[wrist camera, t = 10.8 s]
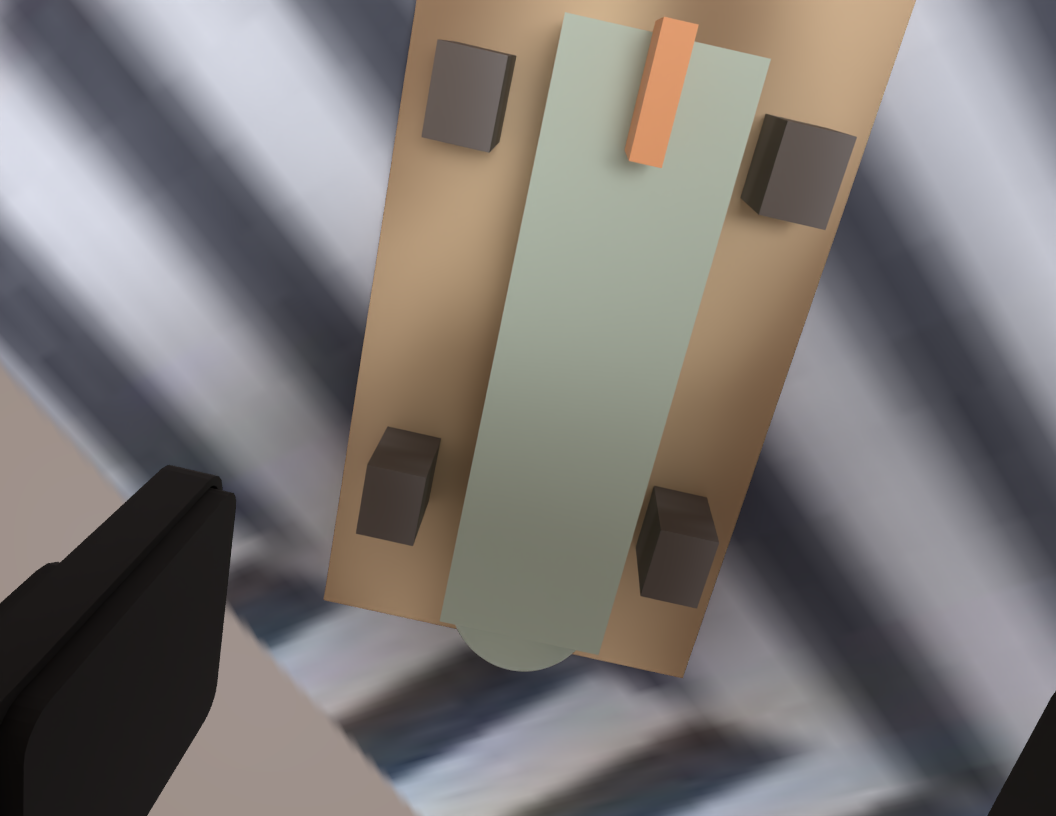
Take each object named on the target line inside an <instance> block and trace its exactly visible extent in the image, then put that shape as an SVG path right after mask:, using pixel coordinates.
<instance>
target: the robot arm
mask: <svg viewBox="0 0 1056 816" xmlns="http://www.w3.org/2000/svg"><path fill="white" fill-rule="evenodd" d="M222 488H223V487H222V481H221V479H220V477H219V476H215V475H211V474H207V473H202V472H198V471H194V470H189V469H185V468H181V467H176V466H172V465H167V466H165V467H164V468H162V469H161V470H160V471H159V472H158V473H157V474H156V475H154V476H153V477H152V478H151V479H150V480H149V481H148V482H147V483H146V484H145V485H144V486H143V487H141V488H140V489H139V490H138V491H137V492H136V493H135V494H134V495H133V496H132V497H131V498H130V499H128V500H127V501H126V502H125V503H124V504H123V505H122V506H121V507H120V508H119V509H118V510H117V511H115V512H114V513H113V514H112V515H111V516H110V517H109V518H108V519H107V520H106V521H105V522H104V523H102V525H101V526H99V527H98V528H97V529H96V530H95V531H94V532H93V533H92V534H91V535H90V536H88V538H86V539H85V540H84V541H83V542H82V543H81V544H80V545H79V546H78V547H77V548H75V549H74V550H73V551H72V552H71V553H70V554H69V555H68V556H67V557H66V558H65V559H64V560H62V561H61V562H60V563H59V562H54V563H48V564H46V565H45V566H43V567H41V568H40V569H38V570H37V571H36V572H35V573H33V574H32V575H31V576H30V577H29V578H28V579H27V580H26V581H24V582H23V584H21V585H20V586H19V587H18V588H17V589H16V590H14V591H13V592H12V593H11V594H10V595H9V596H8V597H7V598H6V599H5V600H3V601H2V602H1V603H0V816H147V815H148V813H149V811H150V810H151V808H152V807H153V805H154V803H155V802H156V800H157V798H158V797H159V795H160V794H161V792H162V790H163V788H164V787H165V785H166V784H167V782H168V780H169V779H170V777H171V775H172V774H173V772H174V770H175V769H176V767H177V766H178V764H179V762H180V761H181V759H182V757H183V756H184V754H185V752H186V751H187V749H188V747H189V746H190V744H191V742H192V741H193V739H194V737H195V736H196V734H197V733H198V731H199V729H200V728H201V726H202V724H203V723H204V721H205V719H206V717H207V715H208V713H209V711H210V708H211V706H212V702H213V700H214V696H215V692H216V687H217V679H218V669H219V661H220V651H221V642H222V633H223V623H224V614H225V605H226V595H227V586H228V576H229V567H230V557H231V548H232V539H233V529H234V520H235V510H236V497H235V495H234V493H231V492H227V491H222ZM988 816H1056V692H1055V693H1054V694H1053V696H1052V697H1051V699H1050V701H1049V703H1048V705H1047V706H1046V708H1045V710H1044V712H1043V714H1042V716H1041V717H1040V719H1039V721H1038V723H1037V725H1036V727H1035V729H1034V730H1033V732H1032V734H1031V736H1030V738H1029V740H1028V742H1027V743H1026V745H1025V747H1024V749H1023V751H1022V753H1021V755H1020V756H1019V758H1018V760H1017V762H1016V764H1015V766H1014V767H1013V769H1012V771H1011V773H1010V775H1009V777H1008V779H1007V780H1006V782H1005V784H1004V786H1003V788H1002V790H1001V792H1000V793H999V795H998V797H997V799H996V801H995V803H994V805H993V806H992V808H991V810H990V812H989V814H988Z"/></svg>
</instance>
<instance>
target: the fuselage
mask: <svg viewBox="0 0 1056 816" xmlns="http://www.w3.org/2000/svg"><path fill="white" fill-rule="evenodd" d="M698 26H699V24H694V23H690V22H685V21H681V20H677V19H672V18H668V17H662V18H660V19H658V20H656V21H655V25H654V29H653V32H650V31H646V30H641V29H637V28H633V27H628V26H624V25H619V24H615V23H610V22H606V21H602V20H597V19H593V18H588V17H584V16H580V15H575V14H571V13H566V12H565V15H564V19H563V24H562V29H561V34H560V39H559V44H558V49H557V53H556V58H555V63H554V68H553V73H552V78H551V83H550V87H549V92H548V97H547V102H546V107H545V112H544V117H543V121H542V126H541V131H540V136H539V141H538V146H537V151H536V155H535V160H534V165H533V170H532V175H531V180H530V185H529V189H528V194H527V199H526V204H525V209H524V214H523V219H522V223H521V228H520V233H519V238H518V243H517V248H516V253H515V257H514V262H513V267H512V272H511V277H510V282H509V287H508V291H507V296H506V301H505V306H504V311H503V316H502V321H501V325H500V330H499V335H498V340H497V345H496V350H495V355H494V359H493V364H492V369H491V374H490V379H489V384H488V389H487V393H486V398H485V403H484V408H483V413H482V418H481V423H480V427H479V432H478V437H477V442H476V447H475V452H474V457H473V461H472V466H471V471H470V476H469V481H468V486H467V491H466V495H465V500H464V505H463V510H462V515H461V520H460V525H459V529H458V534H457V539H456V544H455V549H454V554H453V559H452V563H451V568H450V573H449V578H448V583H447V588H446V593H445V597H444V602H443V607H442V612H441V617H440V622H445V623H450V624H454V625H455V626H456V628H457V630H458V632H459V634H460V635H461V637H462V638H463V639H464V641H465V642H466V644H467V645H468V646H469V647H470V648H471V649H472V650H473V651H474V652H475V653H476V654H477V655H479V656H480V657H482V658H483V659H485V660H486V661H488V662H489V663H491V664H493V665H496V666H498V667H501V668H504V669H508V670H514V671H535V670H541V669H544V668H547V667H550V666H553V665H555V664H557V663H559V662H561V661H563V660H564V659H566V658H567V657H569V656H570V655H571V654H572V653H573V652H575V651H576V650H577V651H582V652H586V653H591V654H596V655H599V652H600V648H601V645H602V641H603V638H604V634H605V631H606V628H607V624H608V621H609V617H610V614H611V610H612V607H613V603H614V600H615V596H616V593H617V589H618V586H619V583H620V579H621V576H622V572H623V569H624V565H625V562H626V558H627V555H628V551H629V548H630V545H631V541H632V538H633V534H634V531H635V527H636V524H637V520H638V517H639V513H640V510H641V507H642V503H643V500H644V496H645V493H646V489H647V486H648V482H649V479H650V475H651V472H652V469H653V465H654V462H655V458H656V455H657V451H658V448H659V444H660V441H661V437H662V434H663V431H664V427H665V424H666V420H667V417H668V413H669V410H670V406H671V403H672V399H673V396H674V393H675V389H676V386H677V382H678V379H679V375H680V372H681V368H682V365H683V361H684V358H685V355H686V351H687V348H688V344H689V341H690V337H691V334H692V330H693V327H694V323H695V320H696V316H697V313H698V310H699V306H700V303H701V299H702V296H703V292H704V289H705V285H706V282H707V278H708V275H709V272H710V268H711V265H712V261H713V258H714V254H715V251H716V247H717V244H718V240H719V237H720V234H721V230H722V227H723V223H724V220H725V216H726V213H727V209H728V206H729V202H730V199H731V196H732V192H733V189H734V185H735V182H736V178H737V175H738V171H739V168H740V164H741V161H742V158H743V154H744V151H745V147H746V144H747V140H748V137H749V133H750V130H751V126H752V123H753V120H754V116H755V113H756V109H757V106H758V102H759V99H760V95H761V92H762V88H763V85H764V82H765V78H766V75H767V71H768V68H769V64H770V61H771V59H769V58H765V57H760V56H756V55H752V54H747V53H743V52H738V51H734V50H730V49H725V48H721V47H716V46H712V45H708V44H703V43H699V42H694V41H695V38H696V34H697V30H698Z"/></svg>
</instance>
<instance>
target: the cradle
mask: <svg viewBox="0 0 1056 816" xmlns="http://www.w3.org/2000/svg"><path fill="white" fill-rule="evenodd" d="M915 1H916V0H417V1H416V8H415V14H414V21H413V27H412V34H411V40H410V47H409V53H408V59H407V66H406V72H405V79H404V85H403V92H402V98H401V105H400V111H399V117H398V124H397V130H396V137H395V143H394V150H393V156H392V163H391V169H390V176H389V182H388V188H387V195H386V201H385V208H384V214H383V221H382V227H381V234H380V240H379V246H378V253H377V259H376V266H375V272H374V279H373V285H372V292H371V298H370V305H369V311H368V317H367V324H366V330H365V337H364V343H363V350H362V356H361V363H360V369H359V375H358V382H357V388H356V395H355V401H354V408H353V414H352V421H351V427H350V434H349V440H348V446H347V453H346V459H345V466H344V472H343V479H342V485H341V492H340V498H339V505H338V511H337V517H336V524H335V530H334V537H333V543H332V550H331V556H330V563H329V569H328V575H327V582H326V588H325V595H324V600H326V601H331V602H335V603H340V604H345V605H349V606H354V607H358V608H363V609H368V610H372V611H377V612H381V613H386V614H391V615H395V616H400V617H404V618H409V619H413V620H418V621H423V622H427V623H432V624H436V625H441V626H446V627H450V628H455V629H457V628H456V626H455V625H454V624H450V623H445V622H440V617H441V612H442V607H443V602H444V597H445V593H446V588H447V583H448V578H449V573H450V568H451V563H452V559H453V554H454V549H455V544H456V539H457V534H458V529H459V525H460V520H461V515H462V510H463V505H464V500H465V495H466V491H467V486H468V481H469V476H470V471H471V466H472V461H473V457H474V452H475V447H476V442H477V437H478V432H479V427H480V423H481V418H482V413H483V408H484V403H485V398H486V393H487V389H488V384H489V379H490V374H491V369H492V364H493V359H494V355H495V350H496V345H497V340H498V335H499V330H500V325H501V321H502V316H503V311H504V306H505V301H506V296H507V291H508V287H509V282H510V277H511V272H512V267H513V262H514V257H515V253H516V248H517V243H518V238H519V233H520V228H521V223H522V219H523V214H524V209H525V204H526V199H527V194H528V189H529V185H530V180H531V175H532V170H533V165H534V160H535V155H536V151H537V146H538V141H539V136H540V131H541V126H542V121H543V117H544V112H545V107H546V102H547V97H548V92H549V87H550V83H551V78H552V73H553V68H554V63H555V58H556V53H557V49H558V44H559V39H560V34H561V29H562V24H563V19H564V15H565V12H566V13H571V14H575V15H580V16H584V17H588V18H593V19H597V20H602V21H606V22H610V23H615V24H619V25H624V26H628V27H633V28H637V29H641V30H646V31H650V32H653V29H654V25H655V21H656V20H658V19H660V18H662V17H668V18H672V19H677V20H681V21H685V22H690V23H694V24H699V26H698V30H697V34H696V38H695V41H694V42H699V43H703V44H708V45H712V46H716V47H721V48H725V49H730V50H734V51H738V52H743V53H747V54H752V55H756V56H760V57H765V58H769V59H771V61H770V64H769V68H768V71H767V75H766V78H765V82H764V85H763V88H762V92H761V95H760V99H759V102H758V106H757V109H756V113H755V116H754V120H753V123H752V126H751V130H750V133H749V137H748V140H747V144H746V147H745V151H744V154H743V158H742V161H741V164H740V168H739V171H738V175H737V178H736V182H735V185H734V189H733V192H732V196H731V199H730V202H729V206H728V209H727V213H726V216H725V220H724V223H723V227H722V230H721V234H720V237H719V240H718V244H717V247H716V251H715V254H714V258H713V261H712V265H711V268H710V272H709V275H708V278H707V282H706V285H705V289H704V292H703V296H702V299H701V303H700V306H699V310H698V313H697V316H696V320H695V323H694V327H693V330H692V334H691V337H690V341H689V344H688V348H687V351H686V355H685V358H684V361H683V365H682V368H681V372H680V375H679V379H678V382H677V386H676V389H675V393H674V396H673V399H672V403H671V406H670V410H669V413H668V417H667V420H666V424H665V427H664V431H663V434H662V437H661V441H660V444H659V448H658V451H657V455H656V458H655V462H654V465H653V469H652V472H651V475H650V479H649V482H648V486H647V489H646V493H645V496H644V500H643V503H642V507H641V510H640V513H639V517H638V520H637V524H636V527H635V531H634V534H633V538H632V541H631V545H630V548H629V551H628V555H627V558H626V562H625V565H624V569H623V572H622V576H621V579H620V583H619V586H618V589H617V593H616V596H615V600H614V603H613V607H612V610H611V614H610V617H609V621H608V624H607V628H606V631H605V634H604V638H603V641H602V645H601V648H600V652H599V655H596V654H591V653H586V652H582V651H577V650H576V651H575V652H573V653H572V654H574V655H579V656H583V657H588V658H593V659H597V660H602V661H606V662H611V663H615V664H620V665H625V666H629V667H634V668H638V669H643V670H648V671H652V672H657V673H661V674H666V675H671V676H675V677H680V678H683V675H684V673H685V670H686V667H687V664H688V661H689V658H690V655H691V652H692V649H693V646H694V643H695V641H696V638H697V635H698V632H699V629H700V626H701V623H702V620H703V617H704V614H705V612H706V609H707V606H708V603H709V600H710V597H711V594H712V591H713V588H714V585H715V582H716V580H717V577H718V574H719V571H720V568H721V565H722V562H723V559H724V556H725V553H726V550H727V548H728V545H729V542H730V539H731V536H732V533H733V530H734V527H735V524H736V521H737V519H738V516H739V513H740V510H741V507H742V504H743V501H744V498H745V495H746V492H747V489H748V487H749V484H750V481H751V478H752V475H753V472H754V469H755V466H756V463H757V460H758V458H759V455H760V452H761V449H762V446H763V443H764V440H765V437H766V434H767V431H768V428H769V426H770V423H771V420H772V417H773V414H774V411H775V408H776V405H777V402H778V399H779V396H780V394H781V391H782V388H783V385H784V382H785V379H786V376H787V373H788V370H789V367H790V365H791V362H792V359H793V356H794V353H795V350H796V347H797V344H798V341H799V338H800V335H801V333H802V330H803V327H804V324H805V321H806V318H807V315H808V312H809V309H810V306H811V304H812V301H813V298H814V295H815V292H816V289H817V286H818V283H819V280H820V277H821V274H822V272H823V269H824V266H825V263H826V260H827V257H828V254H829V251H830V248H831V245H832V243H833V240H834V237H835V234H836V231H837V228H838V225H839V222H840V219H841V216H842V213H843V211H844V208H845V205H846V202H847V199H848V196H849V193H850V190H851V187H852V184H853V181H854V179H855V176H856V173H857V170H858V167H859V164H860V161H861V158H862V155H863V152H864V150H865V147H866V144H867V141H868V138H869V135H870V132H871V129H872V126H873V123H874V120H875V118H876V115H877V112H878V109H879V106H880V103H881V100H882V97H883V94H884V91H885V89H886V86H887V83H888V80H889V77H890V74H891V71H892V68H893V65H894V62H895V59H896V57H897V54H898V51H899V48H900V45H901V42H902V39H903V36H904V33H905V30H906V27H907V25H908V22H909V19H910V16H911V13H912V10H913V7H914V4H915Z"/></svg>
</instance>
